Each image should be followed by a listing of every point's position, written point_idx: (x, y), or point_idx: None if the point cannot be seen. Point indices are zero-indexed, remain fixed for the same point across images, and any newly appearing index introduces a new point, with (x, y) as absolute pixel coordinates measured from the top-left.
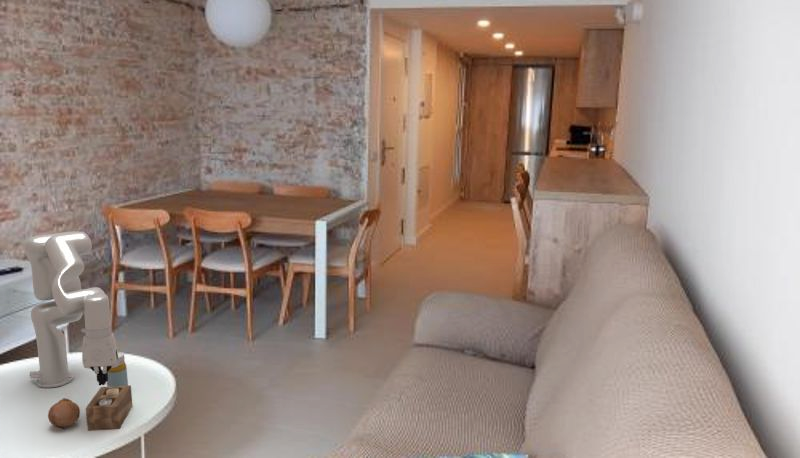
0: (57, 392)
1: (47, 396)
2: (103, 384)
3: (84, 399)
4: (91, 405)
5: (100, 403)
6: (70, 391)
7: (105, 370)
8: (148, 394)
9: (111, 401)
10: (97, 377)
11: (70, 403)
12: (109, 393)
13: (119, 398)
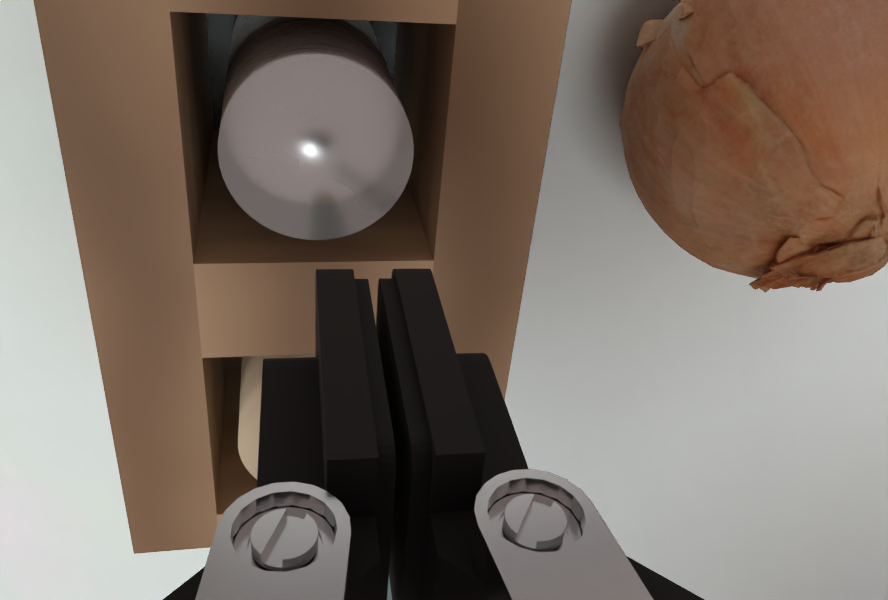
0: (789, 571)
1: (848, 530)
2: (324, 274)
3: (609, 491)
4: (502, 50)
5: (372, 79)
6: (712, 582)
7: (236, 590)
8: (104, 551)
9: (218, 140)
10: (494, 419)
11: (788, 161)
12: None
13: (128, 231)
